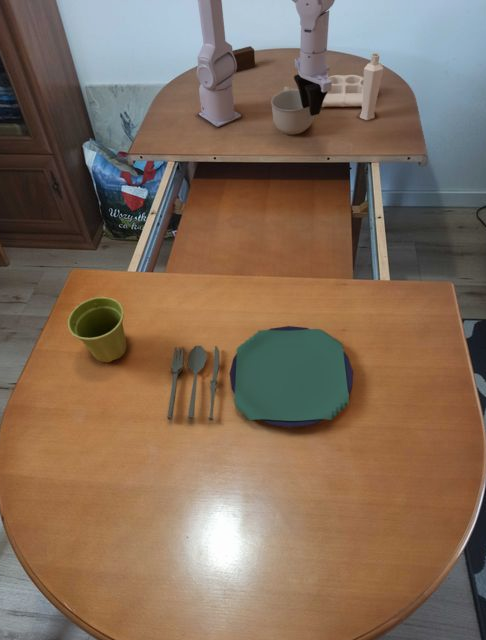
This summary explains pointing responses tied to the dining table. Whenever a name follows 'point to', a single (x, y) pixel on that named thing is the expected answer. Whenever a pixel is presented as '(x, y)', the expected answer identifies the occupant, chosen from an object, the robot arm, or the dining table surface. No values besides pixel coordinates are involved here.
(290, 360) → the cutlery set
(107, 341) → the plant pot
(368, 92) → the perfume bottle
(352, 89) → the white multi-hole holder
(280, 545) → the dining table surface
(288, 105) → the teacup
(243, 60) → the block
